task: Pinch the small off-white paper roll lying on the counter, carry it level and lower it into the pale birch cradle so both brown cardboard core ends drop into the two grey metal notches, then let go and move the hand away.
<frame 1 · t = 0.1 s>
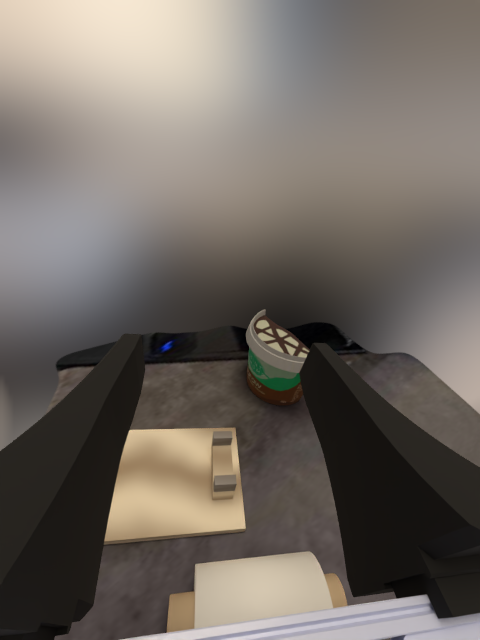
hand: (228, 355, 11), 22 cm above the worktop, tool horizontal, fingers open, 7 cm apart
cradle: (162, 478, 26), on the worktop
paper roll: (252, 613, 19), on the worktop
food container: (262, 388, 38), on the worktop
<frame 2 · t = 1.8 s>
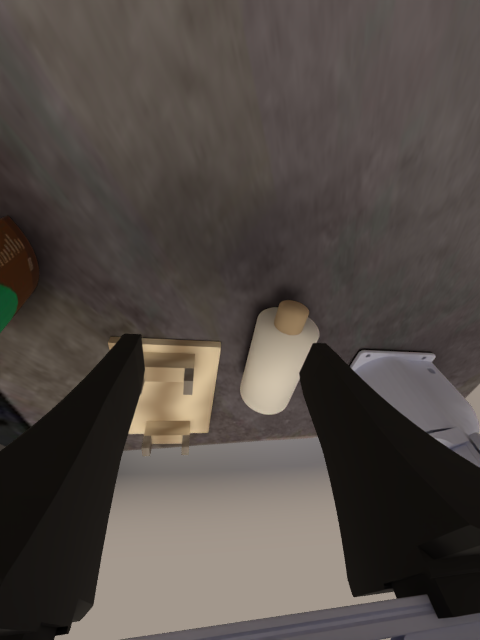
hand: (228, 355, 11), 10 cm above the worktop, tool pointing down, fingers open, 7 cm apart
cradle: (169, 390, 28), on the worktop
paper roll: (269, 343, 25), on the worktop
food container: (0, 280, 19), on the worktop
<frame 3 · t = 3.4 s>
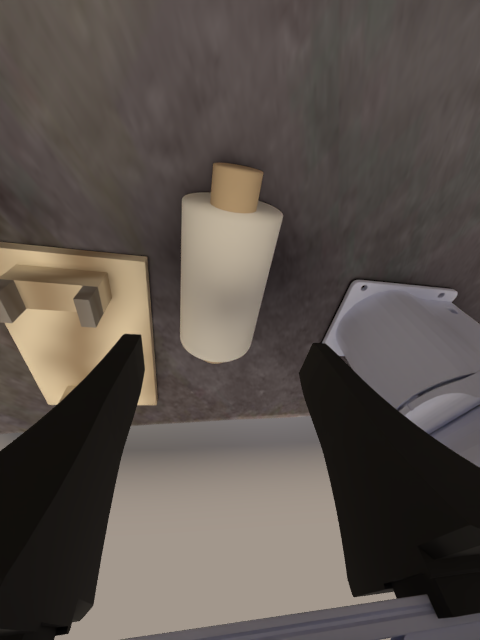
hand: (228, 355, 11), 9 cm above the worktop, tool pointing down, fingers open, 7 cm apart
cradle: (90, 340, 21), on the worktop
paper roll: (221, 263, 18), on the worktop
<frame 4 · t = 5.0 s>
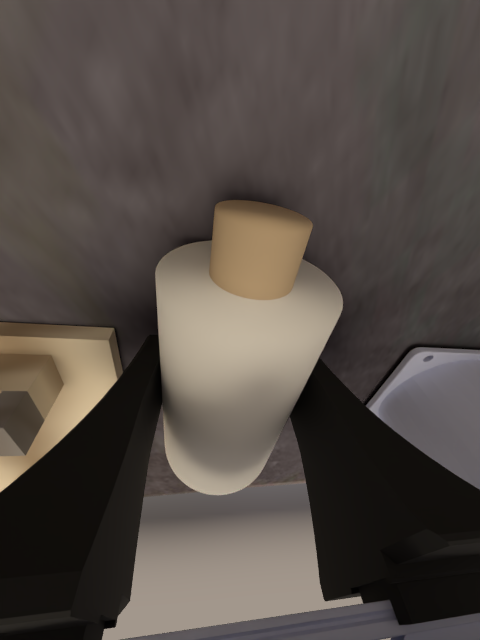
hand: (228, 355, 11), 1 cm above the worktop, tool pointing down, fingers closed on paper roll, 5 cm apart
cradle: (44, 424, 15), on the worktop
paper roll: (227, 333, 12), on the worktop, touching gripper
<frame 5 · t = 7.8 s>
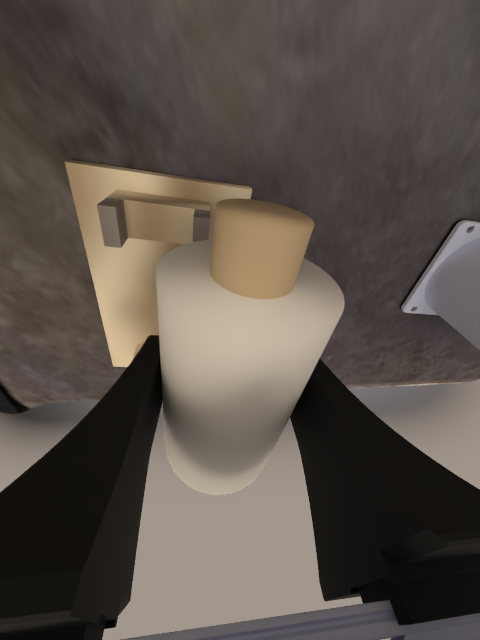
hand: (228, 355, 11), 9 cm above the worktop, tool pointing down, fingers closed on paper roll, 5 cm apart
cradle: (169, 291, 19), on the worktop
paper roll: (227, 333, 12), point 8 cm above the worktop, touching gripper
when the fingers open (3 cm above the worktop, at t = 10.7 s): paper roll stays where it is, resting on cradle.
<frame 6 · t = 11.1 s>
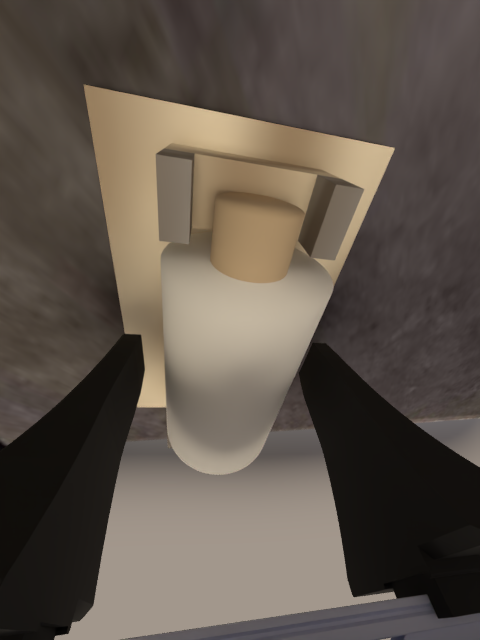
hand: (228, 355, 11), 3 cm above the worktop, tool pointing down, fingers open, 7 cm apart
cradle: (224, 308, 13), on the worktop
paper roll: (226, 322, 12), point 1 cm above the worktop, touching cradle
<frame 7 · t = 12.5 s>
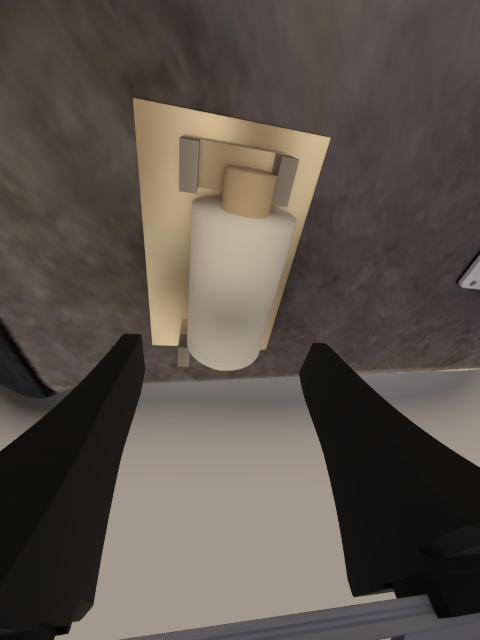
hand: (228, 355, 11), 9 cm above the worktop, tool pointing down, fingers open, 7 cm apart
cradle: (220, 260, 18), on the worktop
paper roll: (212, 268, 17), point 2 cm above the worktop, tilted 28°, touching cradle
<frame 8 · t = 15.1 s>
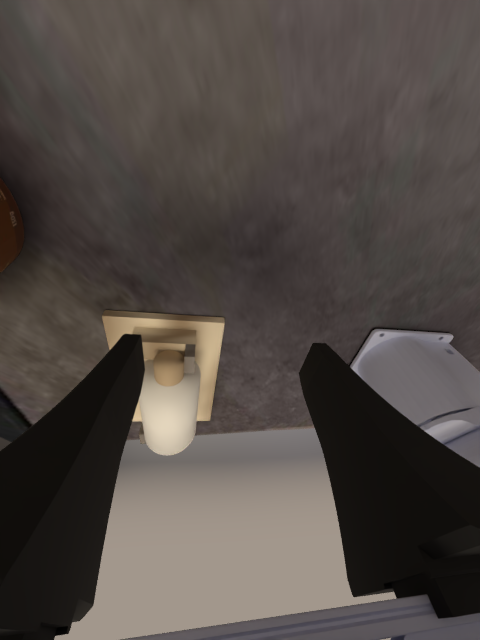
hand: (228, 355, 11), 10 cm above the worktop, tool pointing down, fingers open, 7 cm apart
cradle: (168, 373, 27), on the worktop
paper roll: (160, 385, 25), point 2 cm above the worktop, tilted 28°, touching cradle
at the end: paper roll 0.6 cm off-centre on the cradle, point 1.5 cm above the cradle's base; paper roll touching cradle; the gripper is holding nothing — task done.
